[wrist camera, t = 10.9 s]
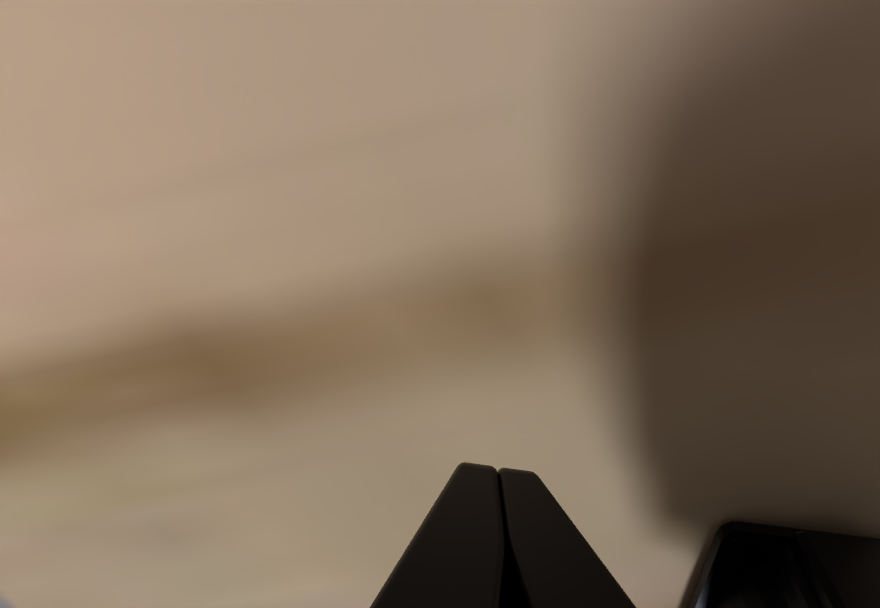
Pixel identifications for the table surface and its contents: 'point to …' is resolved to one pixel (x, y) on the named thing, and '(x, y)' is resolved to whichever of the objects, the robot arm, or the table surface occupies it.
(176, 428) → the table surface
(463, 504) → the robot arm
